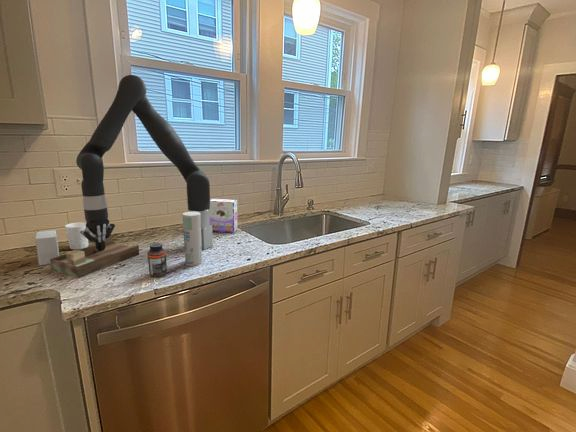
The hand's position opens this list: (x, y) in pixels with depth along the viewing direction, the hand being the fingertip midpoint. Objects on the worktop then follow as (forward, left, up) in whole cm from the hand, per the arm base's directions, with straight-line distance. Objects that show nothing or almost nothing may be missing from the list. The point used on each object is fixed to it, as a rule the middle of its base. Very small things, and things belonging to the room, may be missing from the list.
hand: (101, 250), depth 122 cm
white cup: (+22, -5, -4) cm, 23 cm away
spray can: (-32, -15, -4) cm, 36 cm away
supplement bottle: (-28, -1, -4) cm, 29 cm away
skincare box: (+18, +9, -4) cm, 20 cm away
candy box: (-17, -56, -4) cm, 58 cm away
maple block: (0, +9, -2) cm, 10 cm away
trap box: (0, +2, -4) cm, 4 cm away
